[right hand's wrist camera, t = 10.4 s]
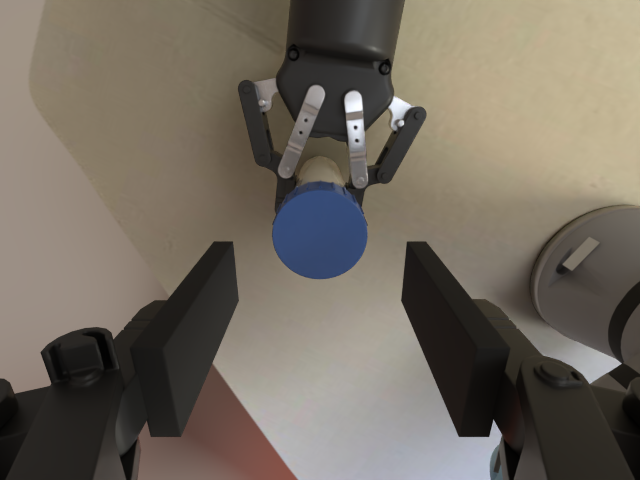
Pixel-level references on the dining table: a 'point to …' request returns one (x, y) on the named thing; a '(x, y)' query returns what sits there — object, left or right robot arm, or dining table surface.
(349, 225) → the lid
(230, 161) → the dining table surface
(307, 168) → the jar
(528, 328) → the dining table surface
